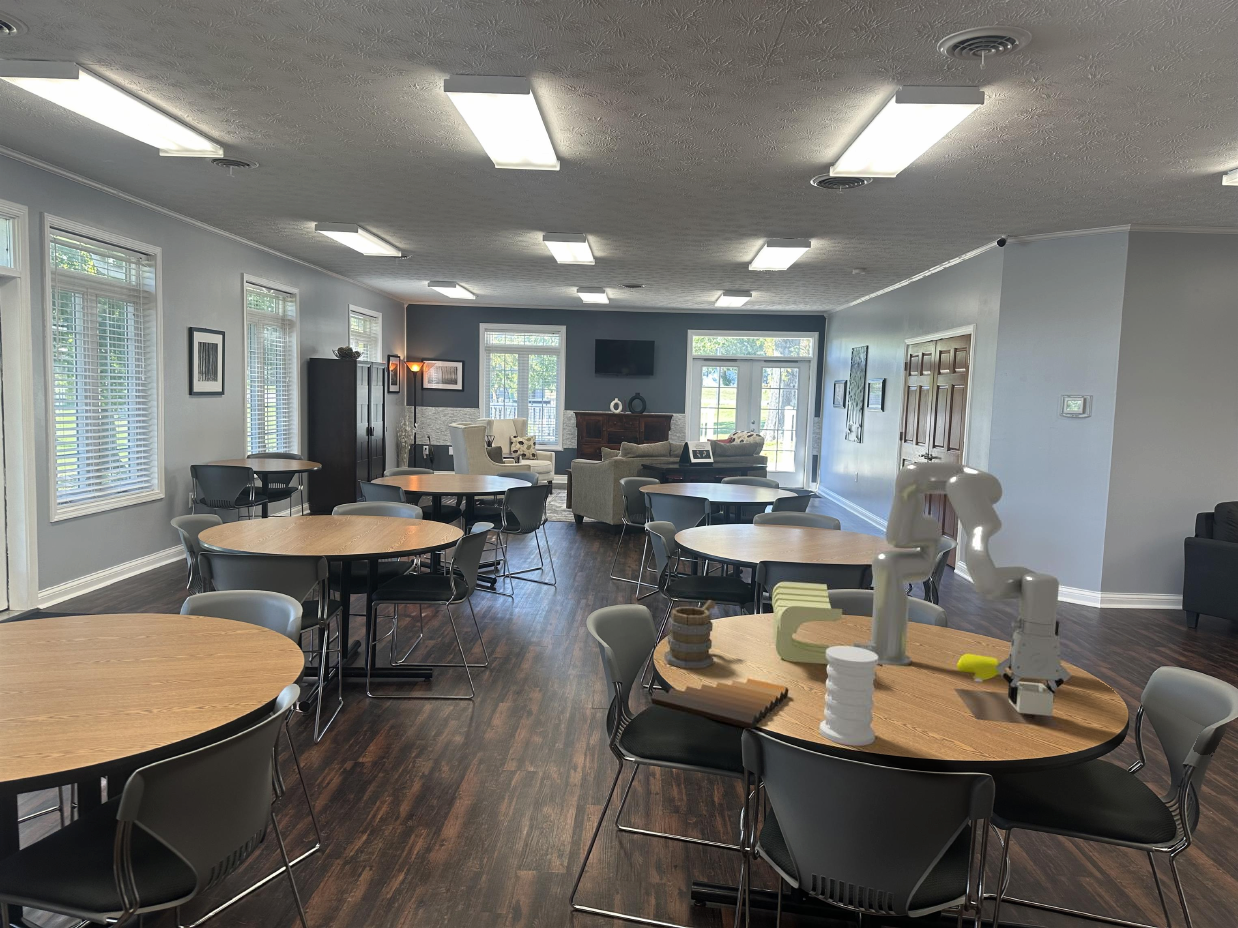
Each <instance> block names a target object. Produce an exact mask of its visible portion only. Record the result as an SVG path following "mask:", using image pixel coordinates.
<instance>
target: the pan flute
mask: <svg viewBox="0 0 1238 928" xmlns="http://www.w3.org/2000/svg"><path fill="white" fill-rule="evenodd" d="M789 691H790V690H789V688H788V687H787V686H784V685H780V684H775V683H770V682H767V681H762V680H758V679H757V680H756V679H752V678H747V679H746V682H744V681H743V682H742V681H737V680H732V682H731V684H729V683H728V684H727V683H724V682H719V681H718V682H717V684H716V686H712V685H708V684H703V683H702V685H701V688H696V687H693V686H689V685H688V686H687V685H686V687H685V689H684V690H680V689H676V688H672V687H671V688H670V689H669V691H668V693H667V692H663V691H659V690H655V689H654V691H653V693H652V694H651V697H650V700H651V701H650V702H651V704H652V705H655V706H660V707H664V708H668V709H671V710H676V711H679V712H682V713H683V712H684V713H686V714H691V715H694V716H699V717H702V718H706V719H710V720H715V721H718V722H722V723H726V724H729V725H734V726H737V727H742V728H745V729H749V728H750V730H753V729H754V728H756V727H757V725H759V724H760V723H761V722H762V721H763V720H765V718H767V717H768V715H770V714H771V713H772V712H773V711H774V710H776V708H777V707H778V706H779V705H780V704H782V702H783V701H784V700H786V699H787V698H788V697H789Z"/></svg>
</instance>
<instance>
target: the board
mask: <svg viewBox="0 0 1238 928" xmlns="http://www.w3.org/2000/svg"><path fill="white" fill-rule="evenodd" d="M953 689H954V691H955V693H956V694H957V695H958V697H959V698H960V700H961V701H962V702H963V704H964V705H965V706H966V708H967V709H968V710H969V711H970V713H971V714H972V715H973V717H974V718H975V720H980V721H981V720H982V721H991V722H993V721H994V722H1000V723H1001V722H1003V723H1009V724H1010V723H1012V724H1021V725H1032V726H1033V725H1034V726H1043V727H1051V728H1052V727H1053V728H1061V725H1060V724H1059V723H1058V722H1057V721H1056V720H1055V719H1054V718H1053V717H1052V716H1048V715H1038V714H1036V715H1035V718H1027V717H1025V716H1024V713H1019V712H1018V711H1017V710H1016V709H1015V708H1014V707H1013V705H1012V704H1011V703H1010V702H1009V698H1008V692H1007V693H1006V692H996V691H986V690H985V691H984V690H975V689H965V688H953Z"/></svg>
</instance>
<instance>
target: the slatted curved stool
mask: <svg viewBox="0 0 1238 928" xmlns="http://www.w3.org/2000/svg"><path fill="white" fill-rule="evenodd" d="M771 597H772V599H771V600H772V601H771V605H772V608H773V609H772V610H773V627H772V629H773V630H772V631H773V632H772V636H773V642H774V647H775V649H776V652H777V655H778V656H779V657H780V658H782V659H783V660H784V661H788V662H796V663H809V664H822V665H823V664H825V665H828V664H829V660H828V659H827V658H826V650H827V649H828V648H830V647H829V645H828V644H823V643H822V644H821V643H813V642H812V643H811V642H806V641H801V640H799V639H796V638H794V637H793V634H797V633H798V630H799V628H800V626H801V625H803V624H805V623H809V622H811V623H812V622H838V621H841V620H842V618H843V609H842V608H832V606H831V603H830V599H829V592H828V586H827V584H826V583H825V584H822V583H808V582H793V581H781V582H778V583H777V584H776V585H775V586H774V587H773V590H772V596H771Z"/></svg>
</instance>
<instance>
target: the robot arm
mask: <svg viewBox="0 0 1238 928" xmlns="http://www.w3.org/2000/svg"><path fill="white" fill-rule="evenodd" d="M924 494H928V495H931V494H934V495H947V497H948V499H949V502H950V504H951V507H952V508H953V510H954V512H955V514H956V516H957V518H958V520H959V522H960V524H961V526H962V528H963V530H964V532H965V534H966V536H967V537H966V543H965V545H964V546H965V547H964V561H965V562H964V563H965V567H966V570H967V572H968V574H969V576H970V578H971V580H972V582H973V585H974V587H975V588H976V590H977V591H978V592H979V594H981V596H983V597H984V598H986V599H988V600H991V601H1000V600H1001V601H1002V600H1017V599H1019V612H1018V617H1017V620H1012V621H1011V627H1013V628H1016V630H1014V632H1013V635H1012V639H1011V643H1010V648H1009V652H1008V657H1007V658H1005V659H1004V660H1003V661H1001V662H999V664H998V665H997V666H996V669H997V670H998V672H999V673H1000V675H1001V677H1002V678H1003V679H1004V680H1005V681H1006V682H1007V683H1008V691H1007V693H1008V698H1009V699H1010V700H1011V702H1012V703H1013V704H1017V692H1018V687H1017V683H1018V682H1020V680H1021V679H1032V680H1042V681H1045V682H1046V685H1044V686H1045V687H1046V688H1048V689H1049V690H1050V691H1051V692H1052V693H1053V694H1054V695H1055V691H1057V690H1058V688H1059V687H1061V686H1062V685H1063V684H1064V683H1065V682H1066V681H1067V680H1069V679H1070V678H1071V676H1072V675H1071V673H1070V672H1069V671H1068V670H1067V669H1066V668H1065V667H1064V666H1063V665H1062V663H1061V662H1062V660H1061V644H1060V637H1059V635H1058V636H1056V635H1055V626H1056V620H1057V614H1058V613H1057V612H1058V602H1059V601H1058V600H1059V587H1060V582H1059V580H1058V578H1056V577H1055V576H1053V575H1050V574H1046V573H1045V574H1044V573H1038V572H1036V571H1034V570H1032V569H1029V568H1027V567H1024V566H1003V567H1002V566H1000V567H999V566H998V567H997V566H996V564H995V563H994V561H993V559H992V557H991V554H990V551H989V541H990V538H991V537H993V536H995V535H996V534H997V533H998V532H1000V531H1001V529H1002V527H1003V526H1002V525H1003V524H1002V521H1001V519H1000V517H999V516H998V515H999V514H998V513H997V511H996V509H995V507H994V506H993V505H995V504H997V503H999V502H1000V500H1001V498H1002V496H1003V488H1002V484H1001V481H1000V480H999V479H998V478H997V477H996V476H995V475H993V474H991V473H989V472H986V471H983V470H981V469H977V468H974V467H971V466H969V465H965V464H962V463H958V462H939V461H934V462H933V461H932V462H931V461H920V462H919V461H917V462H911V463H908V464H906V465H903V467H901V468H900V469H899V471H898V473H897V475H896V478H895V482H894V494H893V495H894V496H893V500H892V504H891V509H890V510H889V511H890V512H889V516H888V520H887V525H886V529H885V541H886V542H887V544H888V545H889V546H890V547H891V548H896V549H895V550H892V549H891V550H885V551H881V552H880V553H878V554H876V555H875V556H874V558H873V560H872V563H871V573H872V580H873V601H872V604H873V605H872V617H871V618H872V619H871V620H872V621H871V635H870V636H871V637H870V640H869V639H868V642H865V643H860V642H853V645H852V647H858V648H862V649H866V650H869V651H872V652H874V653H875V654H877V655H878V664H877V665H880V666H883V665H886V666H898V667H907V666H910V665H911V663H912V658H911V657H910V656H908V655H907V654H906V651H907V638H908V637H907V636H908V626H909V625H908V623H909V622H908V620H909V608H910V606H909V605H910V601H909V596H908V593H907V590H906V588H905V585H907V584H917V583H923V582H926V581H927V580H928V579H929V578H931V576H932V574H933V572H934V568H935V564H936V561H937V557H938V554H939V549H940V547H941V541H942V534H943V533H942V527H941V524H940V523H939V520H938V519H937V518H936V517H934V516H933V515H931V514H926V513H925V514H924V512H925V509H926V498H925V495H924ZM1006 669H1008V670H1009V671H1011V673H1010V674H1008V673H1007V672H1006ZM1054 700H1055V697H1054V698H1053V704H1054V702H1055V701H1054Z"/></svg>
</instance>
